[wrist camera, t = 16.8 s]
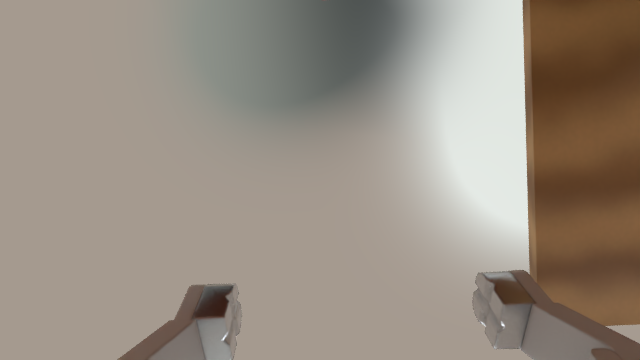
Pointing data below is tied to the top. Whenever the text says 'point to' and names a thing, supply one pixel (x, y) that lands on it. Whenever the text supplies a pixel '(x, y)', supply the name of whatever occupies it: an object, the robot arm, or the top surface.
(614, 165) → the chest lid
